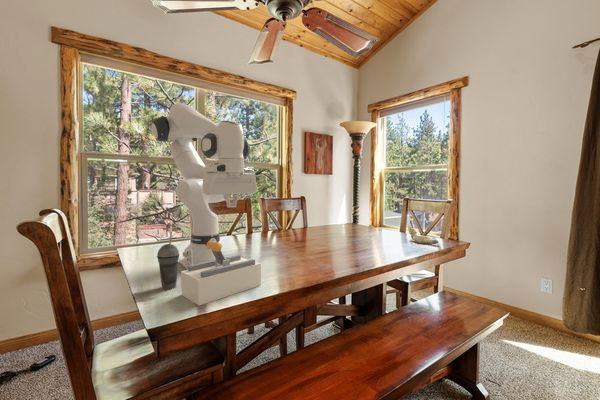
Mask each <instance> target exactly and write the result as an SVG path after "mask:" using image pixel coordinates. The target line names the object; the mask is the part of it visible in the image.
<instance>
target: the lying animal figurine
mask: <svg viewBox="0 0 600 400" xmlns="http://www.w3.org/2000/svg"><path fill="white" fill-rule="evenodd" d="M407 231H408V234H409V235H410V237H411V240H412V241H414V242H415V243H416V244H426V245H429V244H430V245H437V244H438V243H439V241H438V240H437V239H436V240H435V239H431V237H429V236H426V235H417V233H418V232H417V231H416V230H415V229H414V228H413V227H411V226H410V225H409V224H408V225H407Z"/></svg>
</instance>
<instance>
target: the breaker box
mask: <svg viewBox="0 0 600 400" xmlns="http://www.w3.org/2000/svg"><path fill="white" fill-rule="evenodd" d="M247 260H249V259H248V258H244V257H241V260H237V261H233V262H230V260H229V259H227V260H223V261H222V265H221V264H218V262H217V260H216V258H215V266H212V267H207V268H203V269H199V270H194V271H188V269H186V270H181V271H180V281H181V282H180V285H181V287H180V288H181V289H180V292H181V293H180V294H181V296H183V297H184V298H186V299H187V300H189V301H191V302H192V303H194V304H195V305H197V306H199V307H200V306H202V305H206V304H208V303H212V302H214V301H218V300H220V299H223V298H226V297H230V296H232V295H236V294H238V293H241V292H245V291H247V290H251V289H253V288H257V287H259V286H261V285H262V269H261V268H262V266H261V265H262V263H260V262H257V261H255V265H251V266H247V267H243V268H239V269H236V270H232V271H228V272H224V273H220V274H216V275H212V276H209V277H205V278H202V277H201V271H206V270H210V269H214V268H218V267H222V266H226V265H230V264H235V263H239V262H243V261H247Z"/></svg>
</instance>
